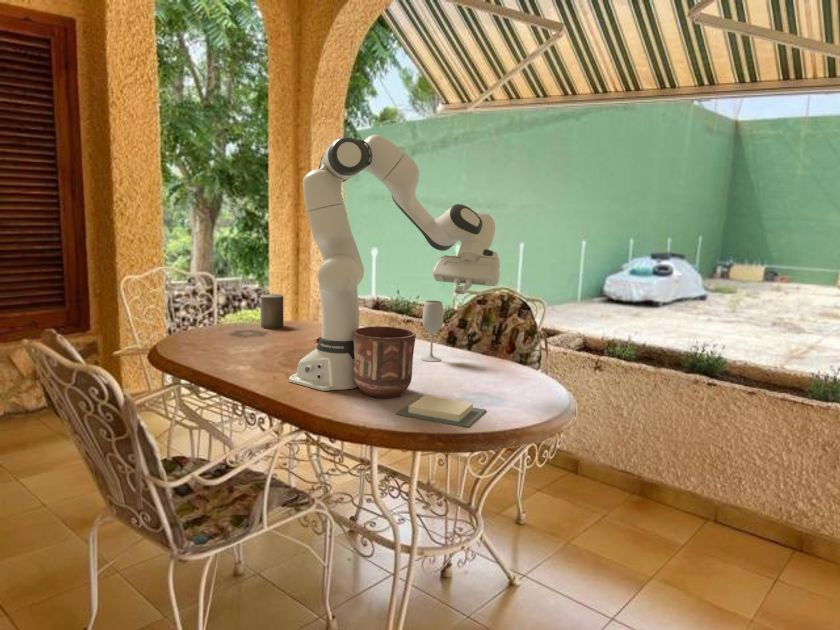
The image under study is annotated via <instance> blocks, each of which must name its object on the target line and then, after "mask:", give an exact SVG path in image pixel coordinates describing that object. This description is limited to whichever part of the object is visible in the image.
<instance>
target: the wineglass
mask: <svg viewBox="0 0 840 630" xmlns="http://www.w3.org/2000/svg"><path fill="white" fill-rule="evenodd" d="M422 312H423V313H422V317H421V319H422V320H421V321H422V325H423V327H424V329H425V330H426V331H427V333H429V334H430V335H429V336H430V350H429V355H426V356H422V357H421V358H420V360H421V361H424V362H430V363H436V362H437V363H438V362H441V361H442V358H440V357H438V356H434V355H433V349H434V348H433V345H434V344H433V343H434V336H435V334H436V333H437V332H438V331H440V330H441V328H442V327H443V326H444V306H443V302H442V301H440V300H426V301H424V305H423V310H422Z"/></svg>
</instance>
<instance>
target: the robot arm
mask: <svg viewBox="0 0 840 630" xmlns="http://www.w3.org/2000/svg"><path fill="white" fill-rule="evenodd" d="M361 171H364V172H365V171H366V172H368V173H369V174H372V175H373V176H375V178H376V179H378V181H380V182H381V183H382V184H383V185H384V186H385V187H386V188H387V189H388V191H389V192H390V194H391V198H392V201H393V202H394V204H395V205H396V206H397V208H398V209H399V210H400V211H401V212H402V213H403V214H404V215H405V216H406V218H407V219H408V220H409V221H410V222H411V223H412V224H413V225H414V226H415V227H416V228H417V229H418V231H420V233H421V234H422V235H423V237H424V239H425V240H426V242H427V243H428V244H429V245H430V246H431V247H432V248H433V249H434V250H437V251H441V252H445V251H448V250H449V249H451V248H452V247H453V246H454V245H455V244H456V243H457V242H459V241H460V248H459V249H458V253H457V254H456V255H444V256H441V257H439V258H438V259H437V263H436V264H435V266H434V268H433V269H432V276H433V278H434V280H435V281H436V282H440V283H441V282H442V283H451V284H452V283H454V285H455V287H454V290H453V291H454V294H458V295H466V292H467V291H468V290H469V289H470V288H471V287H472V286H473V285H474V286H475V285H476V286H487V287H495V286H497V285H498V284H499V281H500V275H501V272H500V266H501V263H500V258H499V255H498V252H497V251H494V250H491V249H490V248H491V246H492V245H493V244H492V243H493V242H494V238H495V233H496V222H495V219H494V218H493V217H492V216H491V215H490V214H488V213H486V212H476V211H474V210H473V209H472V208H470V207H469V206H468V205H466V204H465V205H464V204H461V203H459V204H458V203H457V204H453V206H451V207H449V208H448V209H447V210H446V211H444V212H443V214H441V215H440V216H439V217H434V216H433V215H432V214H430V212H428V210H427V209H425V207H424V206H423V205H422V204H421V203H420V202H419V200H418V198H417V196H416V189H417V187H418V183H419V179H420V171H419V166H418V164H417V162H415V160H414V159H413V158H412V157H411V156H409V155H408V154H407V153H406V152H405V151H404V150H403V149H402V148H400V147H399V146H397V145H396V144H395V143H393V142H392V141H390V140H389V139H387V138H386V137H384V136H382V135H380V134H372V135H369V136H367V137H366V138H365V139H364V140H362V139H357V138H354V137H347V136H343V137H340V138H339V137H338V138H337V139H335V140H334V141H333V142H332V143H330V144H329V145H327V147H326V148H325V150H324V152H323V153H322V156H321V158H320V162H319V165H318V168H317V169H314V170H311V171H309V172H308V173H307V174H305V176H303V179H302V189H303V190H302V192H303V199H304V201H303V202H304V204H305V206H304V207H305V209H306V214H307V219H308V221H309V226H310V230H311V233H312V237H313V241H314V242H315V243H316V246H317V248H318V250H319V252H320V255H321V257H322V259H323V262H322V263H321V265H320V266H319V269H318V273H317V279H318V284H319V286H318V287H319V294H320V295H319V296H320V303H321V318H322V319H321V336H320V337H318V338H317V339H313V341H314V342H313V344H314V345H315V344H317V345H316V348H315V349H313V350H312V351H310V353H309V352H308V354H306V355H305V356H304V357H302V358H301V359H300V360H299V362H298V363H297V369H296V373H293V374H292V375H290V376H288V377H289V378H288V382H289V383H293V384H296V385H297V384H298V385H300V386H304V387H308V388H312V389H315V390H319V391H322V392H323V391H324V392H325V391H326V392H327V391H335V390H350V389H355V388H359V387H358V386H357V384H356V382H355V379H354V359H355V358H354V341H353V332H354V330H356V329H359V328H360V317H361V316H360V315H361V313H360V307H359V299H358V298H359V297H358V295H359V294H358V286H359V285H360V283H361V282H362V280H364V279H363V278H364V275H365V267H364V264H363V261H362V258H361V255H360V252H359V248H358V246H357V244H356V241H355V237H354V235H353V233H352V229H351V225H350V221H349V217H348V214H347V210H346V206H345V201H344V198H343V195H342V184H343V183H344V182H346V181H348V180H350V179H352V178H354V177H355V176H356V175H357V174H359V173H360V172H361ZM461 284H462V285H461Z"/></svg>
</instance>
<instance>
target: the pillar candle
mask: <svg viewBox="0 0 840 630" xmlns="http://www.w3.org/2000/svg"><path fill="white" fill-rule="evenodd" d="M284 326H285V325H284V295H283V294H276V293H274V292H271V294H270V293H268V294H267V293H266V294H261V295H260V328H262V327H263V328H262V329H269V330H270V329H271V330H274V329H281V328H283V327H284Z"/></svg>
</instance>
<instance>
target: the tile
mask: <svg viewBox="0 0 840 630" xmlns="http://www.w3.org/2000/svg"><path fill="white" fill-rule="evenodd" d="M419 398H420V399H419V400H417V401H416V402H414V403H413V404H411V405H410V406H409V410H408V413H409V414H414V415H420V416H425V417H431V418H436V419H441V420H447V421H452V422H458V423H459V422H460V421H461V420H462V419H464V418H465V417H466V416H467V415H468V414H469V413H470V412H472V411H473V408H474V403H472V402H466V401H462V400H461V401H459V400H455V399H450V398H443V397H436V396H433V395H432V396H431V395H426V394H425V395H423V396H422V397H419Z"/></svg>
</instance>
